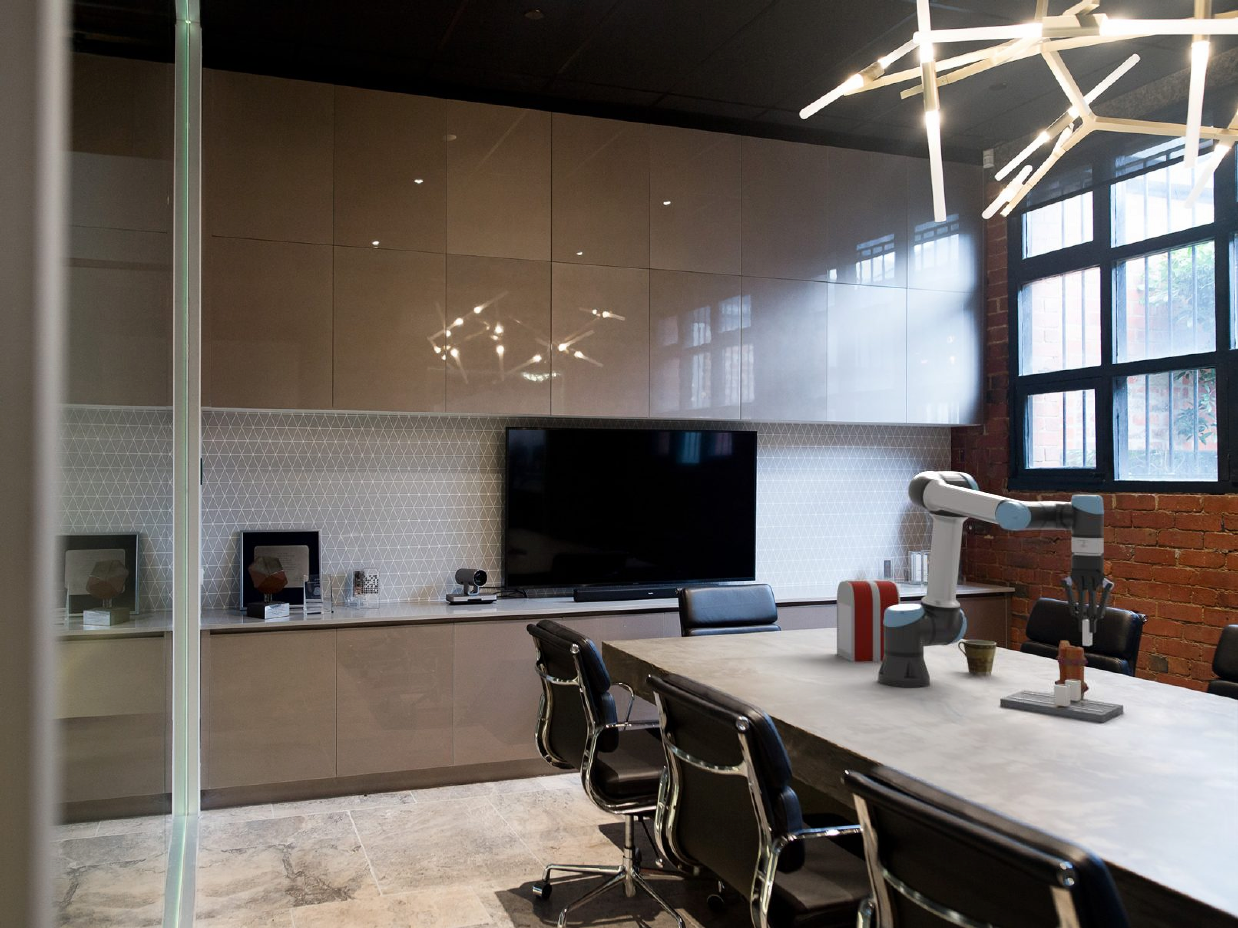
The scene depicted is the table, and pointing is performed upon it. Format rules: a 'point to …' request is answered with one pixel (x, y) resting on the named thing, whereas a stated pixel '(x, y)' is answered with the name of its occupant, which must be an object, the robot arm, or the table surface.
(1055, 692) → the fader near
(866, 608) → the red striped block
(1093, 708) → the console
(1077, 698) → the fader far
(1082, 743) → the table surface
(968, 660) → the ceramic cup
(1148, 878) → the table surface
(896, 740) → the table surface
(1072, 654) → the mug
